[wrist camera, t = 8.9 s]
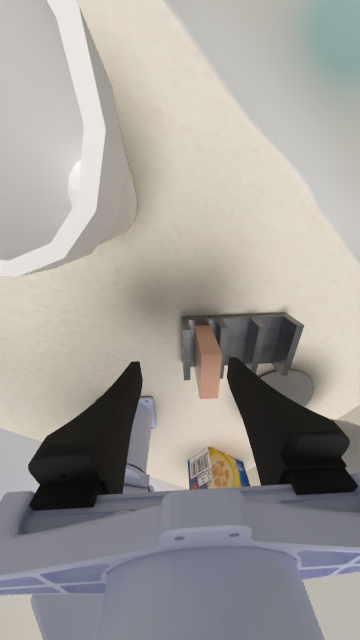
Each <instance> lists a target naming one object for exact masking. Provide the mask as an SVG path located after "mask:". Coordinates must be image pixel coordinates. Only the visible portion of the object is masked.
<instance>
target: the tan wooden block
mask: <svg viewBox="0 0 360 640" xmlns="http://www.w3.org/2000/svg"><path fill="white" fill-rule="evenodd" d="M221 362H222V352H221V350H220V348H219V345H218V343H217V340H216V338H215V336H214V333H213V331H212V329H211V326H210V325H198V326H194V366H195V373H196V379H197V385H198V391H199V397H200V399H209V398H218V391H219V381H220V371H221Z"/></svg>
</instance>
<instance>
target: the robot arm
mask: <svg viewBox="0 0 360 640" xmlns="http://www.w3.org/2000/svg"><path fill="white" fill-rule="evenodd" d="M227 379H228V383H229V386H230V389H231V392H232V394H233V397H234V399H235V402H236V404H237V407H238V409H239V411H240V414H241V416H242V419H243V422H244V425H245V428H246V431H247V435H248V438H249V441H250V445H251V448H252V452H253V456H254V459H255V463H256V467H257V471H258V475H259V479H260V483H261V486H248V487H231V488H213V489H196V490H179V491H163V492H155V491H154V488H153V486H151V485H149V476H150V475H148V474H146V467H147V459H148V450H149V442H150V434H151V429H155V428H156V427H157V424H156V417H155V410H154V403H153V398H151V397H142V398H140V395H141V389H142V382H143V380H142V374H141V368H140V362H139V361H137V362H131V363H130V364H129V366H128V367H127V368H126V369H125V371H124V372H123V373H122V374H121V376H120V377H119V378H118V379H117V380H116V382H115V383H114V384H113V385H112V386H111V387H110V388H109V389H108V390H107V391H106V392H105V393H104V394H103V395H102V396H101V397H100V398H99V399H98V400H96V401H95V403H94V404H92V405H91V406H90V407H89V408H87V409H86V410H85V411H84V412H82V413H81V414H80V415H78V416H77V417H76V418H74V419H73V420H71V421H70V422H69V423H67V424H66V425H64V426H62V427H61V428H59V429H58V430H56V431H55V432H53V433H51V434H50V435H48V436H47V437H46V438H45V440H44V441H43V443H42V444H41V446H40V448H39V449H38V450H37V452H36V454H35V455H34V457H33V458H32V460H31V461H30V463H29V465H28V466H29V467H28V469H29V471H30V473H31V475H32V476H33V477H34V478H35V479H36V481H37V482H38V483H39V484H40V486H39V488H38V489H37V491H36V493H34V492H31V491H24V492H23V491H21V492H8V493H6V494H5V495H4V496H3V498H2V500H1V501H0V596H1V595H27V594H28V595H29V594H32V597H31V605H32V609H33V611H34V614H35V617H36V620H37V623H38V626H39V629H40V632H41V634H42V637H43V640H324V637H323V634H322V631H321V629H320V626H319V624H318V621H317V618H316V616H315V613H314V610H313V608H312V605H311V602H310V600H309V597H308V594H307V592H306V589H305V586H304V584H303V581H302V580H308V579H315V578H323V577H330V576H338V575H344V574H353V573H360V472H357V473H353V474H351V475H350V474H349V473H348V472H347V470H346V469H345V468H346V467H347V465H346V463H345V462H344V461H343V459H342V458H341V457H342V456H343V454H344V453H345V452H346V450H347V449H348V447H349V445H350V439H349V438H348V436H347V435H346V434H345V433H344V432H343V431H342V430H341V428H340V427H339V426H338V425H337V424H336V423H335V422H334V421H332V420H330V419H328V418H326V417H324V416H322V415H319V414H317V413H315V412H313V411H311V410H309V409H307V408H305V407H303V406H301V405H300V404H298V403H296V402H294V401H293V400H291V399H289V398H288V397H286V396H284V395H283V394H281V393H280V392H278V391H277V390H275V389H274V388H272V387H271V386H270V385H268V384H267V383H266V382H264V381H263V380H262V379H261V378H259V377H258V376H257V375H256V374H255V373H254V372H252V371H251V370H250V369H249V368H248V367H247V366H246V365H245V364H244V363H243V362H242V361H241V360H239V359H238V358H237V357H229V364H228V372H227Z"/></svg>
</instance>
